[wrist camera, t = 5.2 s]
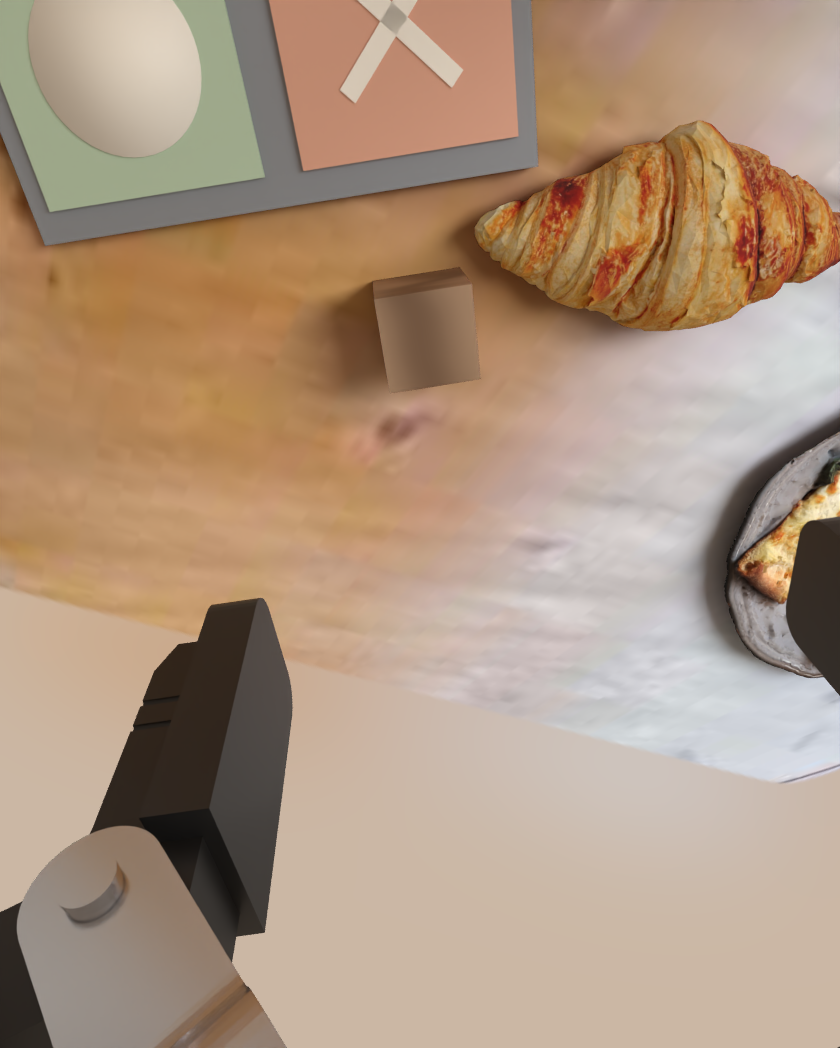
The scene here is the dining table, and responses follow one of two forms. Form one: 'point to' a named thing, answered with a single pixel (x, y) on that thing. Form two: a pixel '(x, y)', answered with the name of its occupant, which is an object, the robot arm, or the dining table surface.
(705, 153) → the croissant
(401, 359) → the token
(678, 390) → the dining table surface
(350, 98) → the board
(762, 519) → the food plate
